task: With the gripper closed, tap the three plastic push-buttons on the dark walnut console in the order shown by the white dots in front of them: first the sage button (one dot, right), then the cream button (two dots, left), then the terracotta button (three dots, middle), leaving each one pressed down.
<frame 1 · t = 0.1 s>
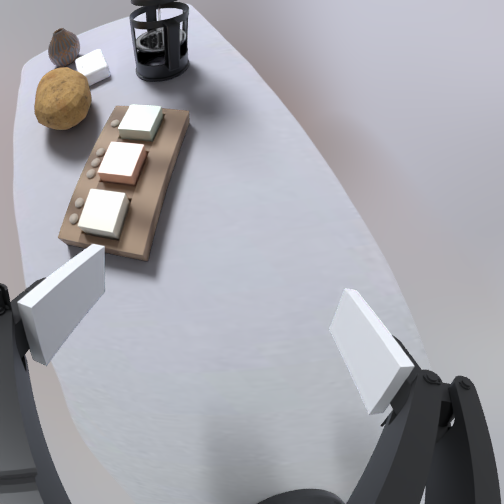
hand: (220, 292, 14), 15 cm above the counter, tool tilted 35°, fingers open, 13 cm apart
terracotta button: (123, 165, 29), point 3 cm above the counter, slide at 0.0 cm
console: (128, 176, 31), on the counter
potato: (71, 117, 33), on the counter
sage button: (141, 124, 31), point 3 cm above the counter, slide at 0.0 cm
cream button: (105, 215, 27), point 3 cm above the counter, slide at 0.0 cm
french press: (163, 68, 38), on the counter
soap: (93, 73, 37), on the counter
vase: (68, 61, 37), on the counter
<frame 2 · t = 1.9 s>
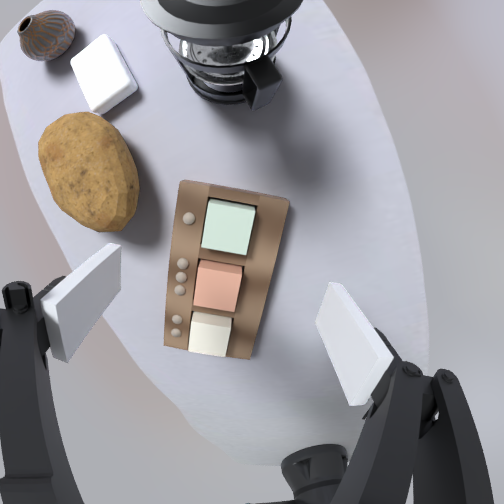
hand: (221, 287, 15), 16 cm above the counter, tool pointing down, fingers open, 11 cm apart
terracotta button: (217, 284, 30), point 3 cm above the counter, slide at 0.0 cm
console: (219, 274, 32), on the counter
potato: (107, 169, 28), on the counter
sage button: (228, 225, 28), point 3 cm above the counter, slide at 0.0 cm
cream button: (209, 332, 32), point 3 cm above the counter, slide at 0.0 cm
french press: (232, 69, 25), on the counter
soap: (108, 76, 24), on the counter
vase: (62, 43, 21), on the counter
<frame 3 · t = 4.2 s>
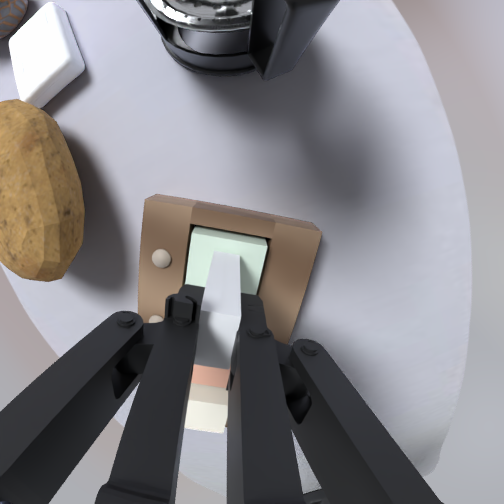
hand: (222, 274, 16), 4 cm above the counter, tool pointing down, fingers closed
terracotta button: (209, 350, 19), point 3 cm above the counter, slide at 0.0 cm
console: (212, 330, 22), on the counter
potato: (52, 180, 17), on the counter
sage button: (224, 265, 18), point 2 cm above the counter, slide at -0.9 cm, touching gripper
cream button: (201, 404, 21), point 3 cm above the counter, slide at 0.0 cm
french press: (230, 27, 14), on the counter
soap: (53, 56, 14), on the counter
vase: (14, 19, 11), on the counter
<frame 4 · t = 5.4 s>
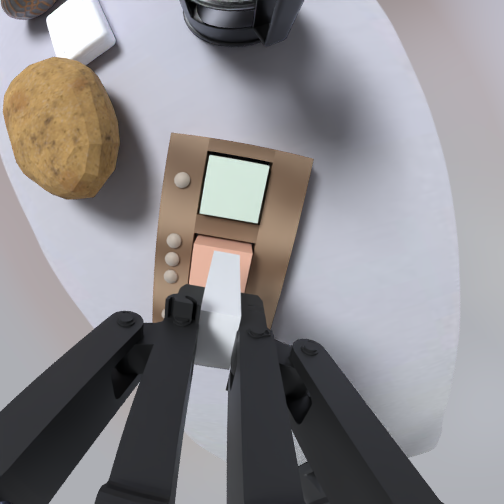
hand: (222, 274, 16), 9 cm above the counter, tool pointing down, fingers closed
terracotta button: (219, 267, 23), point 3 cm above the counter, slide at 0.0 cm
console: (221, 255, 25), on the counter
potato: (85, 128, 20), on the counter
sage button: (234, 187, 21), point 2 cm above the counter, slide at -0.9 cm
french press: (238, 11, 17), on the counter
soap: (85, 33, 17), on the counter
vase: (47, 2, 14), on the counter
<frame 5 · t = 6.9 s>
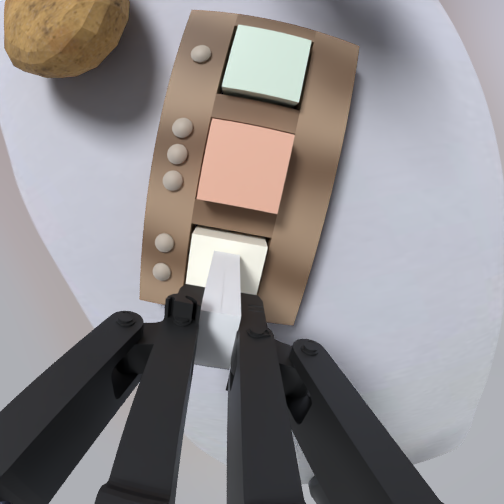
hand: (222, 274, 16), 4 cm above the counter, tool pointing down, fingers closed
terracotta button: (244, 165, 15), point 3 cm above the counter, slide at 0.0 cm
console: (243, 164, 18), on the counter
potato: (88, 31, 13), on the counter
sage button: (265, 68, 14), point 2 cm above the counter, slide at -0.9 cm
cream button: (224, 265, 18), point 2 cm above the counter, slide at -0.6 cm, touching gripper
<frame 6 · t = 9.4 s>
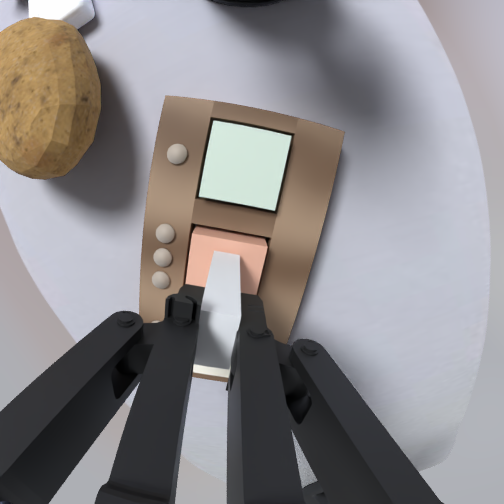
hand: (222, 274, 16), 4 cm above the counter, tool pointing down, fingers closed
terracotta button: (224, 265, 18), point 2 cm above the counter, slide at -0.6 cm, touching gripper
console: (225, 254, 20), on the counter
potato: (66, 101, 15), on the counter
sage button: (244, 164, 16), point 2 cm above the counter, slide at -0.9 cm
cream button: (211, 341, 20), point 2 cm above the counter, slide at -1.0 cm
soap: (66, 8, 12), on the counter
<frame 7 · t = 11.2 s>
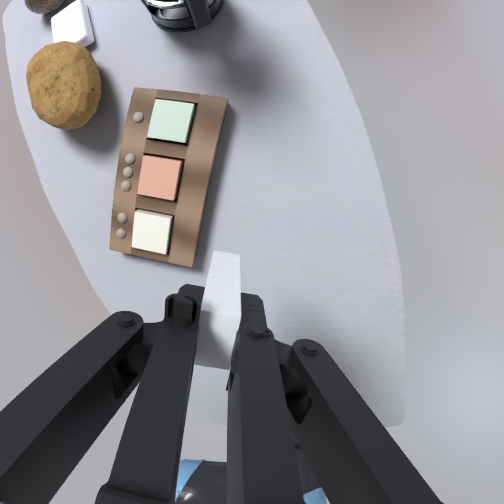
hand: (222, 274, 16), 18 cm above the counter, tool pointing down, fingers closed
terracotta button: (161, 176, 30), point 2 cm above the counter, slide at -0.9 cm
console: (165, 175, 32), on the counter
potato: (81, 90, 27), on the counter
sage button: (172, 121, 28), point 2 cm above the counter, slide at -0.9 cm
cream button: (153, 229, 32), point 2 cm above the counter, slide at -1.0 cm
french press: (188, 7, 24), on the counter
soap: (76, 32, 23), on the counter
vase: (58, 1, 19), on the counter
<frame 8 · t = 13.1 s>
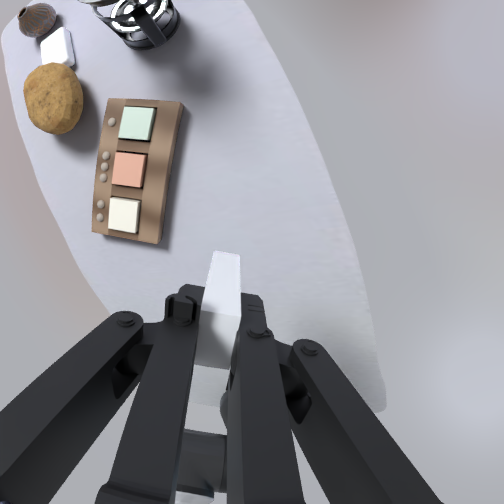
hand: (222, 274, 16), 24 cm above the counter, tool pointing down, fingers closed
terracotta button: (131, 168, 35), point 2 cm above the counter, slide at -0.9 cm
console: (135, 168, 37), on the counter
potato: (68, 102, 32), on the counter
sage button: (138, 123, 33), point 2 cm above the counter, slide at -0.9 cm
cream button: (126, 213, 37), point 2 cm above the counter, slide at -1.0 cm
french press: (151, 28, 29), on the counter
soap: (61, 54, 29), on the counter
vase: (47, 25, 25), on the counter
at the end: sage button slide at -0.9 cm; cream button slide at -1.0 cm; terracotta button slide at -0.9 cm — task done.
